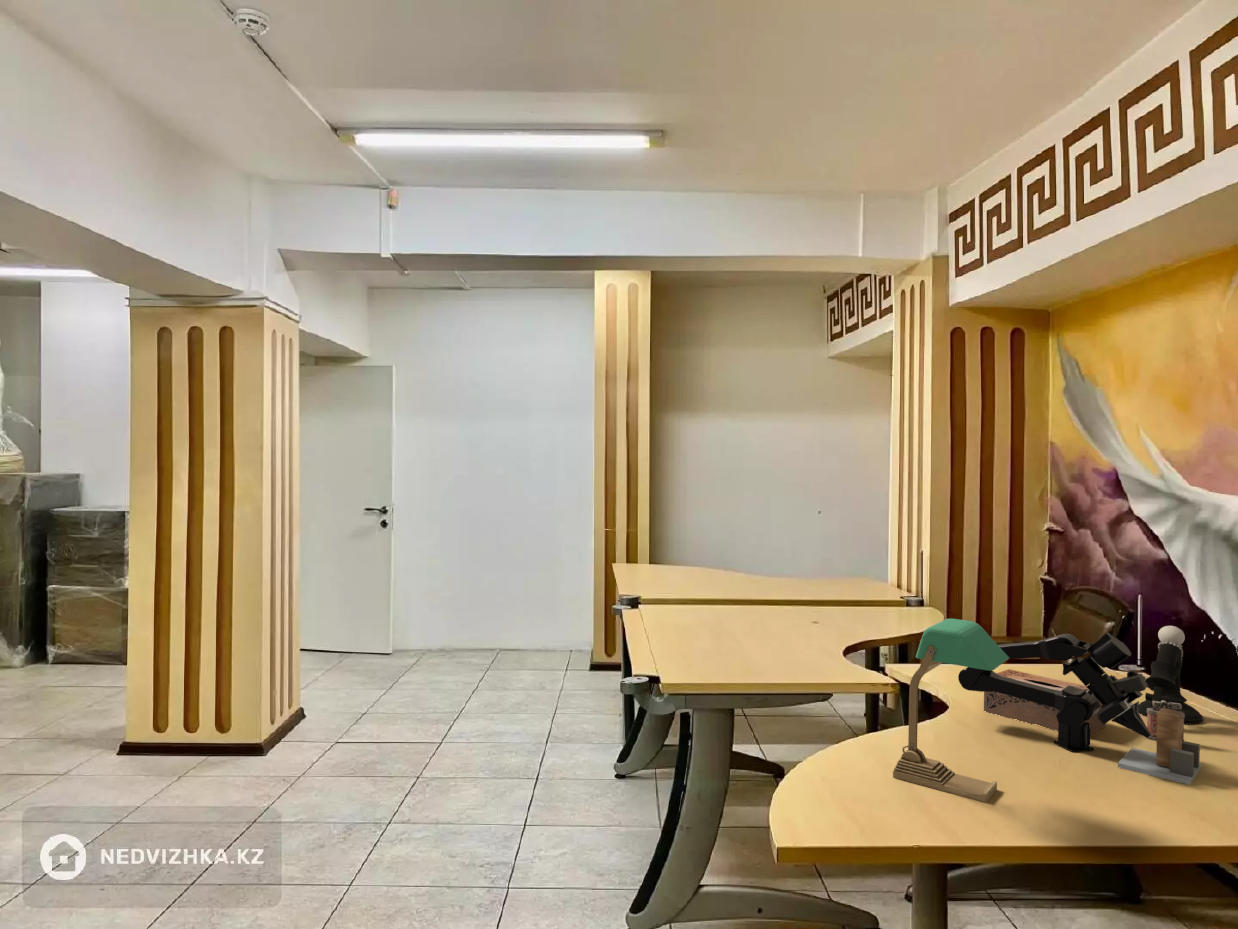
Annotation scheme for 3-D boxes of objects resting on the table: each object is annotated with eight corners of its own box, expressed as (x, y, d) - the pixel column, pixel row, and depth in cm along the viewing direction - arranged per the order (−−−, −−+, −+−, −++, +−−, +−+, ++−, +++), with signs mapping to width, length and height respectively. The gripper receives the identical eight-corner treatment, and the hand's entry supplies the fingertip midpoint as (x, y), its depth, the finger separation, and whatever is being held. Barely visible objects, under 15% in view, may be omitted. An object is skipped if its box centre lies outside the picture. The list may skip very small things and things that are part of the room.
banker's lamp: (911, 761, 185) (914, 612, 184) (1008, 786, 171) (1011, 625, 171) (886, 782, 172) (889, 622, 172) (988, 810, 159) (992, 637, 159)
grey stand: (1117, 767, 183) (1118, 741, 183) (1131, 751, 193) (1132, 727, 193) (1189, 785, 173) (1190, 757, 173) (1200, 767, 183) (1201, 742, 183)
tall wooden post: (1156, 764, 182) (1157, 712, 181) (1160, 758, 185) (1161, 707, 185) (1177, 769, 179) (1178, 716, 179) (1181, 763, 182) (1182, 711, 182)
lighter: (1146, 740, 202) (1147, 700, 201) (1145, 735, 205) (1146, 697, 204) (1185, 745, 198) (1186, 705, 198) (1183, 741, 201) (1184, 702, 201)
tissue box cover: (983, 712, 223) (984, 677, 222) (1008, 703, 231) (1008, 669, 231) (1082, 739, 202) (1083, 700, 202) (1105, 727, 211) (1106, 690, 211)
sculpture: (1207, 716, 221) (1209, 627, 221) (1190, 736, 205) (1192, 640, 205) (1143, 703, 232) (1145, 618, 232) (1122, 721, 216) (1124, 630, 215)
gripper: (1113, 667, 182) (1170, 727, 174) (1132, 654, 195) (1186, 709, 187) (1074, 694, 187) (1128, 753, 180) (1096, 679, 201) (1146, 734, 193)
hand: (1149, 736), depth 185 cm, fingers closed
